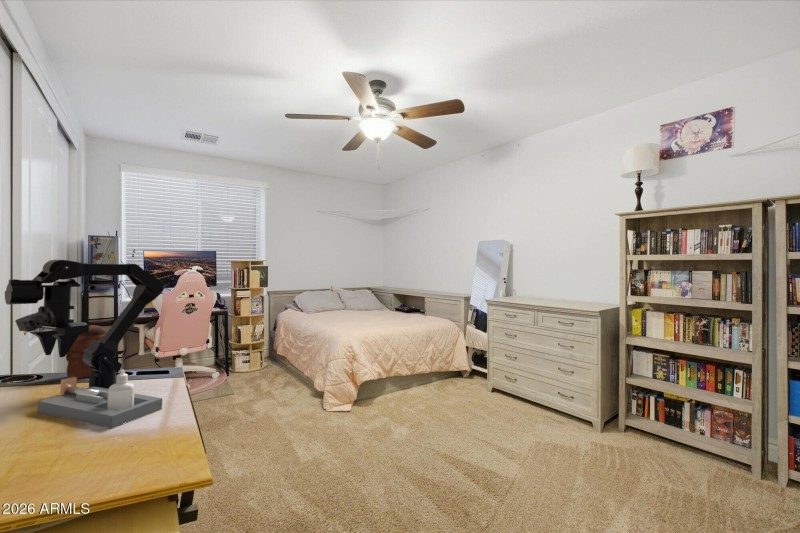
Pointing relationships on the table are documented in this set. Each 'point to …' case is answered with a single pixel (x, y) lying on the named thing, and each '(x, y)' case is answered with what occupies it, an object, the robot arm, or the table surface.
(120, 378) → the eye dropper bottle
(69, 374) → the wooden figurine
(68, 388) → the lock pin
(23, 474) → the table surface
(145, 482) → the table surface
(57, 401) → the dock block
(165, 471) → the table surface
